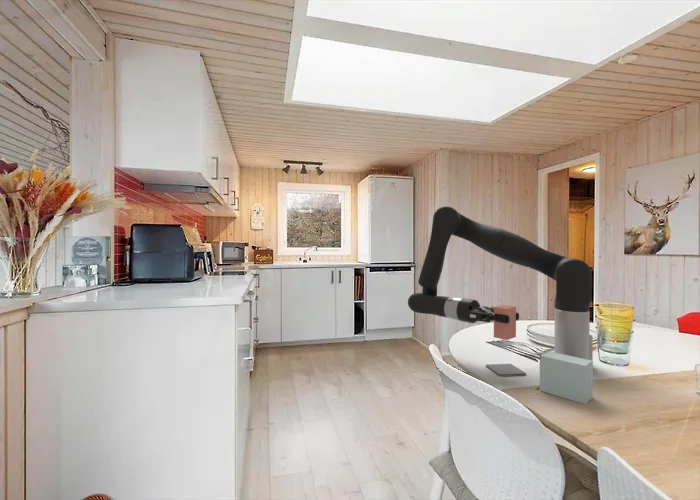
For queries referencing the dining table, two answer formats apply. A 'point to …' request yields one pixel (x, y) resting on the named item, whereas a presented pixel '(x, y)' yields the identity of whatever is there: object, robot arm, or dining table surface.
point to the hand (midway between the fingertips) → (513, 318)
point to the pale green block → (566, 376)
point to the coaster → (505, 370)
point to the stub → (505, 329)
